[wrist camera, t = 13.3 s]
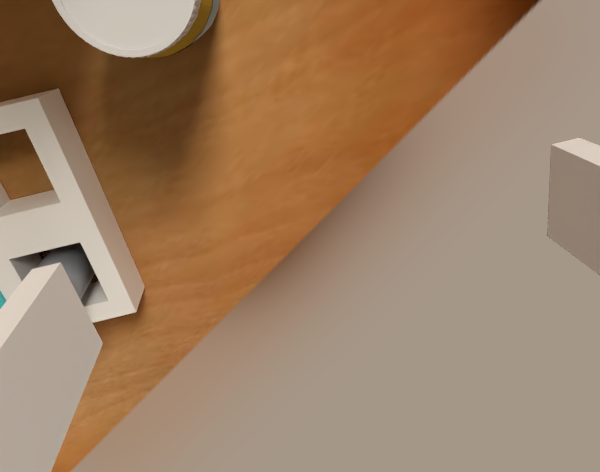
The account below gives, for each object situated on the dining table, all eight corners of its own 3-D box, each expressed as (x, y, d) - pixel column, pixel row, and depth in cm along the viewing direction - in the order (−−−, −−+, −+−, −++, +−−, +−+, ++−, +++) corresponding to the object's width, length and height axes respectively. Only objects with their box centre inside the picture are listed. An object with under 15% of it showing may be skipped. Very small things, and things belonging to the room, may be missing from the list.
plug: (89, 231, 40) (46, 296, 31) (108, 270, 42) (72, 342, 33) (44, 241, 40) (-13, 310, 31) (64, 280, 42) (16, 355, 33)
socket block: (58, 88, 35) (35, 98, 31) (144, 286, 43) (135, 314, 39) (-127, 132, 34) (-173, 148, 31) (-5, 322, 43) (-29, 354, 39)
